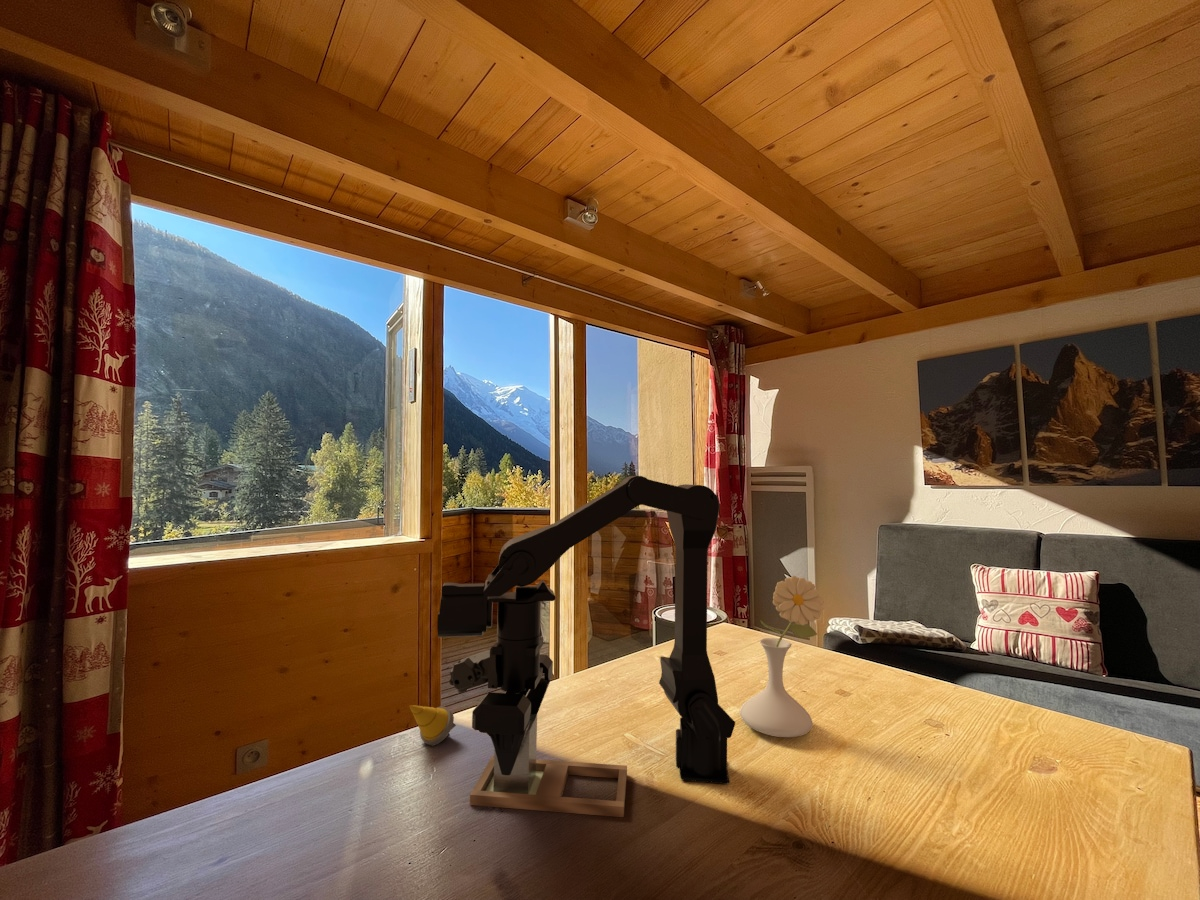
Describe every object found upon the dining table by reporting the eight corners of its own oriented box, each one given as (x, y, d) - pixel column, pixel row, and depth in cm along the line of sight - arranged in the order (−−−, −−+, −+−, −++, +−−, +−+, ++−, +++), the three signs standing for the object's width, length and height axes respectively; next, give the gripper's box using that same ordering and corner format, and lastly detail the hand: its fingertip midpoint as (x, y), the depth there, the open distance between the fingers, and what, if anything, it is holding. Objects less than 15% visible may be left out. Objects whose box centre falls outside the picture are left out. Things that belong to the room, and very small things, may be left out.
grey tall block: (535, 775, 70) (537, 709, 71) (528, 795, 66) (529, 725, 66) (503, 772, 71) (504, 707, 71) (493, 792, 66) (495, 723, 67)
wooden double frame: (626, 774, 71) (627, 765, 71) (623, 817, 62) (623, 806, 62) (491, 764, 73) (491, 756, 73) (469, 804, 64) (469, 794, 64)
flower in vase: (735, 736, 83) (735, 577, 84) (743, 707, 93) (744, 566, 94) (824, 754, 78) (824, 584, 79) (823, 721, 88) (822, 572, 90)
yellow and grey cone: (462, 746, 79) (421, 717, 74) (432, 757, 80) (390, 729, 74) (465, 712, 83) (428, 682, 78) (437, 723, 84) (398, 694, 79)
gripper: (482, 613, 79) (479, 718, 79) (431, 654, 61) (426, 792, 60) (554, 616, 78) (552, 723, 77) (524, 659, 60) (521, 800, 59)
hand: (515, 754), depth 68 cm, fingers open, 9 cm apart
